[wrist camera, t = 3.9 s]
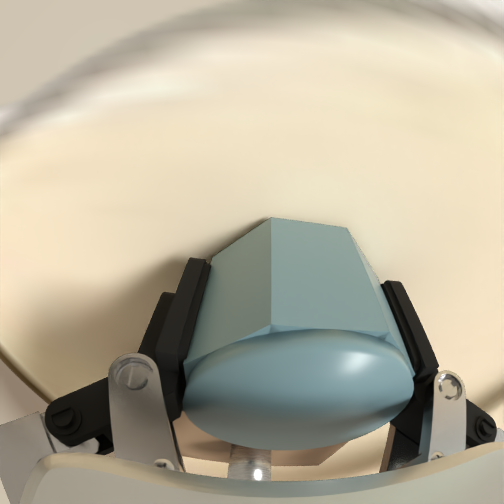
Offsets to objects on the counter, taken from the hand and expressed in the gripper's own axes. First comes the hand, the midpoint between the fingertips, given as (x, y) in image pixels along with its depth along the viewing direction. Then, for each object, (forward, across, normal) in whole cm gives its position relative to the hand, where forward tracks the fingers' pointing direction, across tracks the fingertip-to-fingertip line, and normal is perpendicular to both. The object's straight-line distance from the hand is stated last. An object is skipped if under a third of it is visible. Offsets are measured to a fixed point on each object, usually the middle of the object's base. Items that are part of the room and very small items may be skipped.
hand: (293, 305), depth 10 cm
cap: (+1, 0, 0) cm, 1 cm away
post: (-1, 0, +13) cm, 13 cm away
